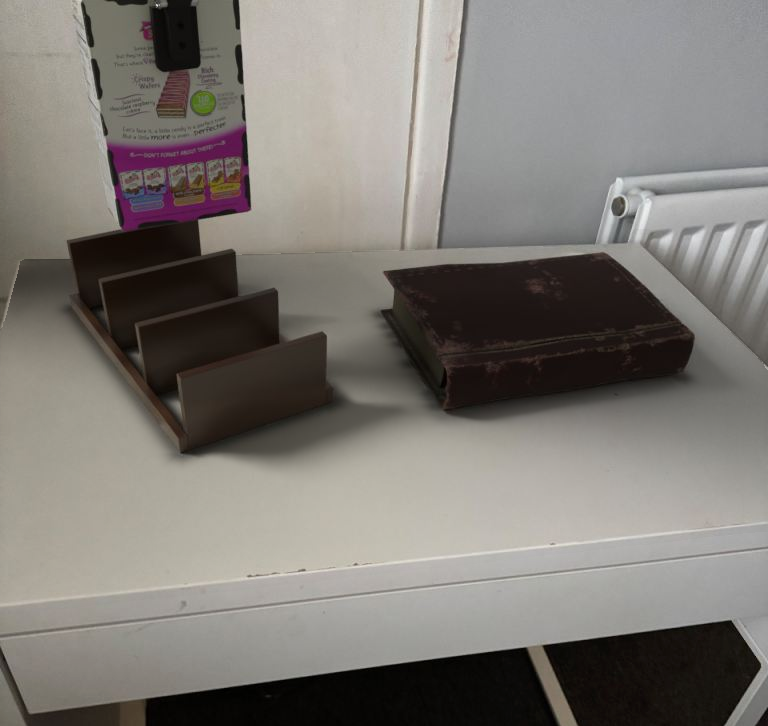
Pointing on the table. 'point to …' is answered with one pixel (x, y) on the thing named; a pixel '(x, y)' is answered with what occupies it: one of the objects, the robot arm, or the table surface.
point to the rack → (194, 333)
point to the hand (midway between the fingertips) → (161, 54)
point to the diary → (531, 327)
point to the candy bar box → (165, 115)
